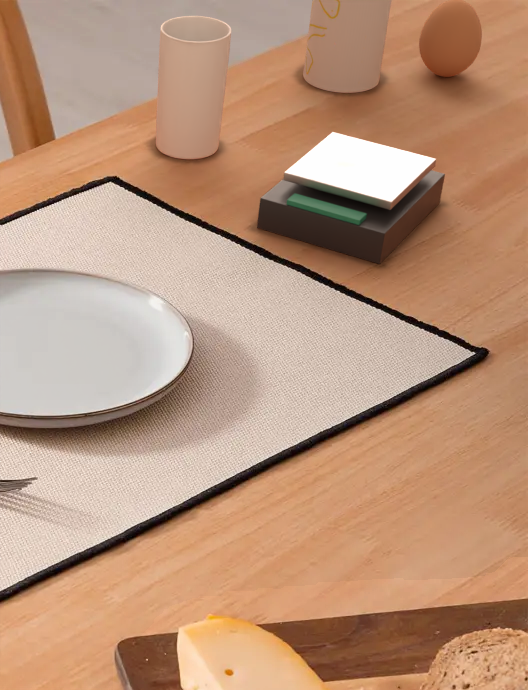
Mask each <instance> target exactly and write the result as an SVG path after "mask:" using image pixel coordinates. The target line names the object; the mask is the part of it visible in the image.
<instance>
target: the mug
mask: <svg viewBox="0 0 528 690" xmlns="http://www.w3.org/2000/svg"><path fill="white" fill-rule="evenodd" d="M159 30H160V32H159V43H158V44H159V45H158V73H157V97H156V98H157V99H156V116H155V117H156V118H155V119H156V120H155V146H156V148H157V150H158V151H159V152H160V153H161V154H164V155H165V156H168V157H171V158H175V159H179V160H199V159H205V158H207V157H210V156H212V155H214V154H215V153H216V152H217V151H218V149H219V145H220V138H221V130H222V123H223V113H224V106H225V105H224V103H225V95H226V87H227V86H226V85H227V78H228V69H229V60H230V52H231V42H232V41H231V38H232V28H231V26H230V25H229V24H228V23H226V22H225V21H223V20H221V19H217V18H214V17H209V16H203V15H184V16H177V17H173V18H169V19H167V20H165V21H164V22H163V23H162V24H161V25H160V29H159Z"/></svg>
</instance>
